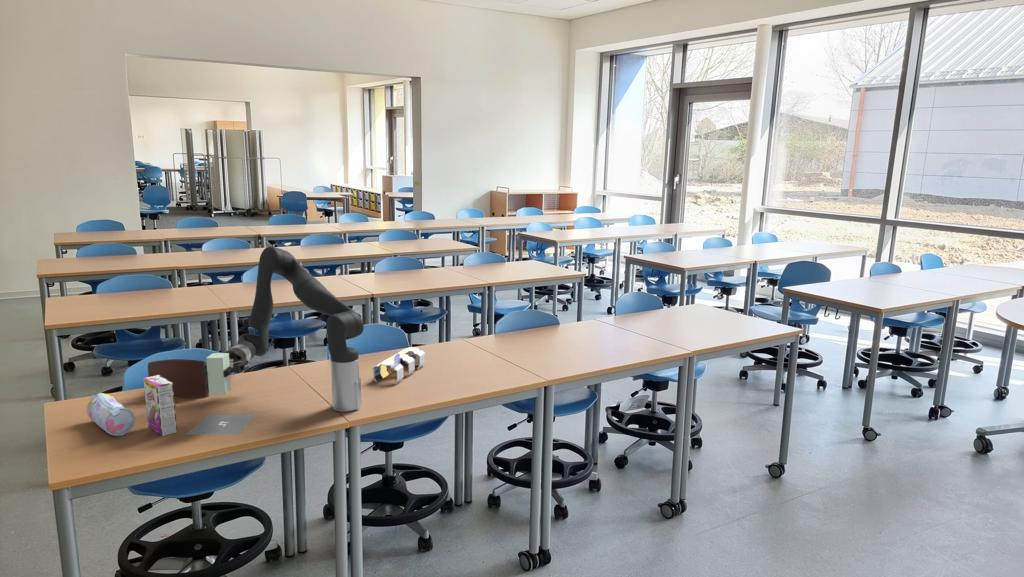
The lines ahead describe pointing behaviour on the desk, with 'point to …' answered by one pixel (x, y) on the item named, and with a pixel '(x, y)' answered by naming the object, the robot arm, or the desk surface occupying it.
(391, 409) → the desk surface
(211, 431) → the gray tile
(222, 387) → the green block
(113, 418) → the pencil case
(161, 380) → the candy bar box
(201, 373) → the letter holder
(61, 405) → the desk surface
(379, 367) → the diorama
